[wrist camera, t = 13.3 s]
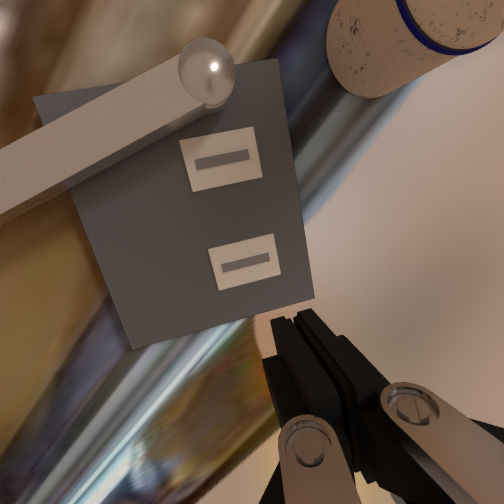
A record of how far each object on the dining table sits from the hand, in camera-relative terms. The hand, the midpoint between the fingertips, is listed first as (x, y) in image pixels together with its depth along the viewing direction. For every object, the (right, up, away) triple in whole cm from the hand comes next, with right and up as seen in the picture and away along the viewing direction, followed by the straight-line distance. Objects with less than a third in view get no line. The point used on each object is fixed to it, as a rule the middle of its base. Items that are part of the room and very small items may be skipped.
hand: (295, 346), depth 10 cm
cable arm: (-13, +11, +8) cm, 19 cm away
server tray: (-6, +7, +13) cm, 16 cm away
